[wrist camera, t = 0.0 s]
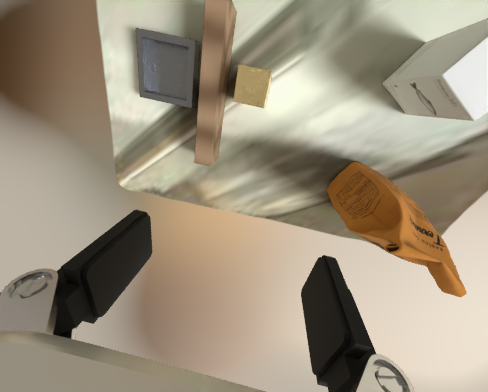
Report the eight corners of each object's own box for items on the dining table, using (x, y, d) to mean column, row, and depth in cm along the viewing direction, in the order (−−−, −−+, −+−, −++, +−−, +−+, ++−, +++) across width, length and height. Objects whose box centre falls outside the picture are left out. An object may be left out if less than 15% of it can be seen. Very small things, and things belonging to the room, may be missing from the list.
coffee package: (357, 221, 43) (427, 320, 23) (318, 188, 40) (359, 268, 21) (398, 191, 38) (528, 282, 19) (357, 153, 36) (455, 212, 17)
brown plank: (218, 8, 30) (206, -13, 24) (236, 12, 29) (228, -9, 24) (204, 154, 41) (194, 162, 35) (217, 157, 40) (209, 166, 35)
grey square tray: (145, 32, 32) (135, 27, 30) (200, 44, 32) (195, 40, 30) (147, 97, 37) (140, 96, 35) (196, 107, 37) (191, 108, 34)
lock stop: (246, 73, 33) (238, 64, 25) (271, 79, 33) (271, 71, 25) (242, 101, 35) (233, 101, 27) (265, 106, 35) (263, 107, 27)
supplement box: (379, 84, 31) (439, 73, 20) (426, 40, 28) (530, -2, 17) (404, 116, 32) (473, 123, 21) (452, 78, 29) (563, 62, 18)
